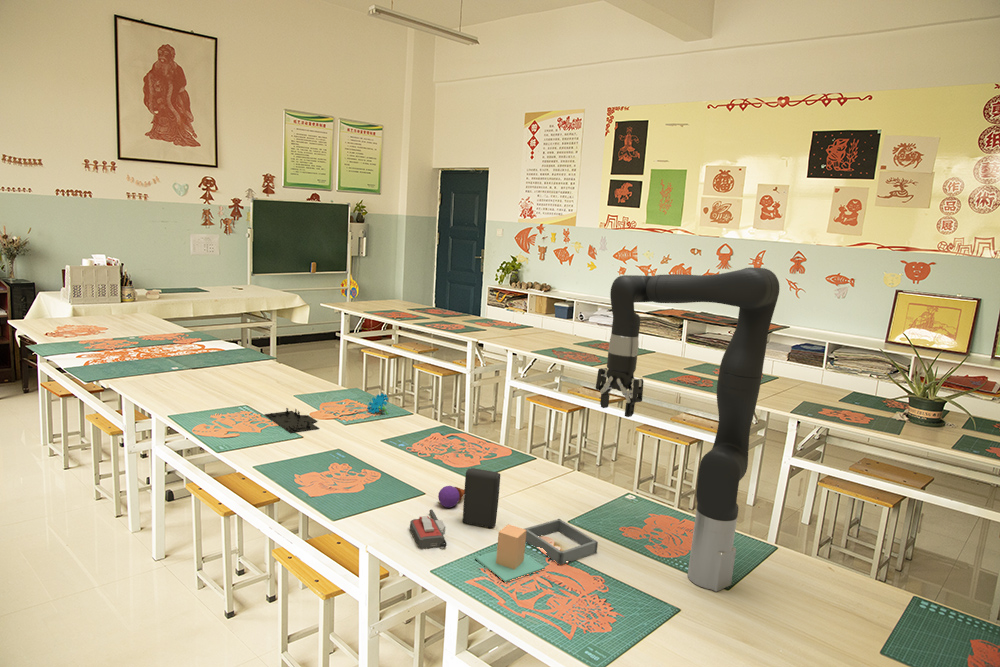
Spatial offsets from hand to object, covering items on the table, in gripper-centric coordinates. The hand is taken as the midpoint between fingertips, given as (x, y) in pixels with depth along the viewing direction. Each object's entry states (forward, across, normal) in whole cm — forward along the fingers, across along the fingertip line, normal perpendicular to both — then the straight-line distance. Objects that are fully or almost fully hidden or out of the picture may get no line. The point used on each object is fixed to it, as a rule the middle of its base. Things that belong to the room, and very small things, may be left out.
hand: (616, 411), depth 170 cm
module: (+34, +1, -33) cm, 47 cm away
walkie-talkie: (+35, -23, -42) cm, 59 cm away
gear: (+34, -123, -6) cm, 128 cm away
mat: (+34, +1, -33) cm, 47 cm away
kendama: (+35, -36, -22) cm, 54 cm away
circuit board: (+35, -124, -41) cm, 135 cm away
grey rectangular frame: (+34, 0, -16) cm, 38 cm away
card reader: (+34, -20, -27) cm, 48 cm away
